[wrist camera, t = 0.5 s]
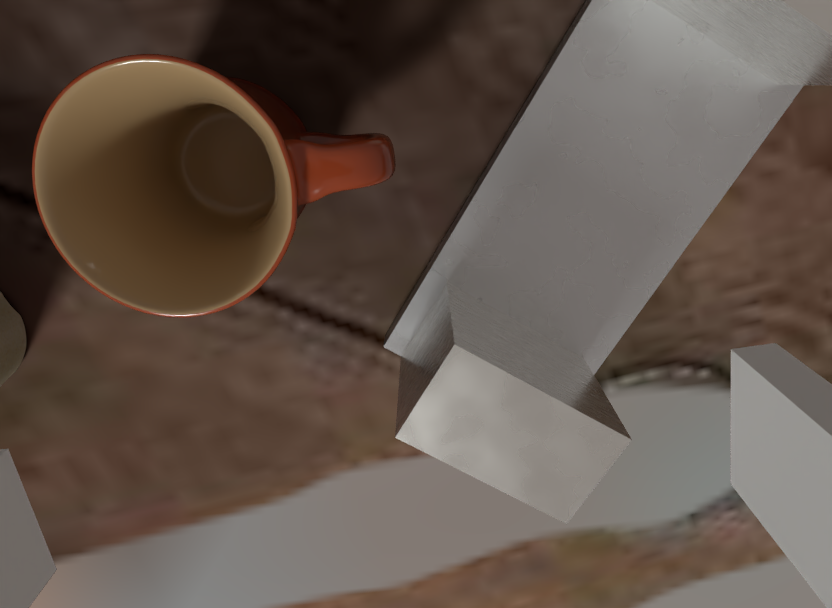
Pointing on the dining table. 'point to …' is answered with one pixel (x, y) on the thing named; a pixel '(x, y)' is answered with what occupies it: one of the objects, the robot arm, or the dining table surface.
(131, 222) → the mug
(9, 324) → the flower pot
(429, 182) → the dining table surface
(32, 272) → the dining table surface
